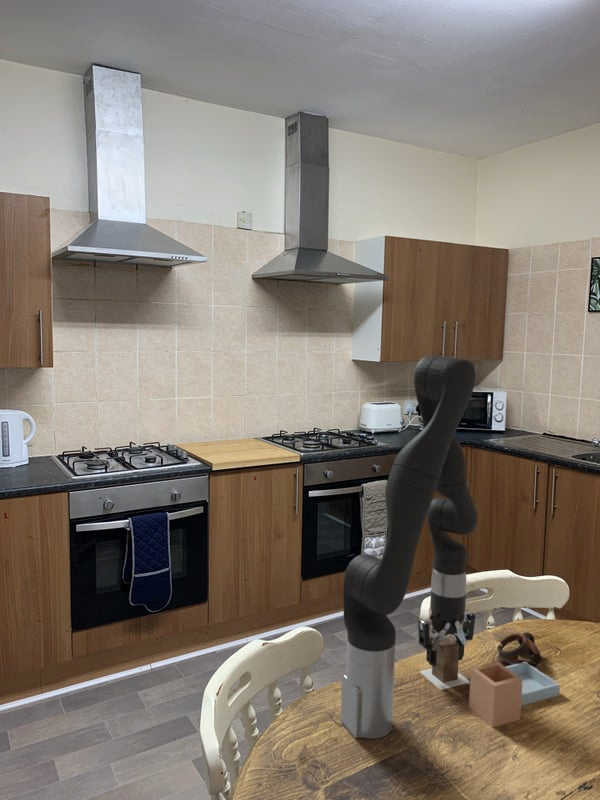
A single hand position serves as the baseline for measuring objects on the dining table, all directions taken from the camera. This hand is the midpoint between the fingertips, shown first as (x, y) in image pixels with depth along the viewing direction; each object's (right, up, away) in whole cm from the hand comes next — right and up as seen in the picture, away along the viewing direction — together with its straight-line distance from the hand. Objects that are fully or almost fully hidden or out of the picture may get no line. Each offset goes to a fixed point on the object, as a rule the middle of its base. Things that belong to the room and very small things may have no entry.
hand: (445, 661), depth 136 cm
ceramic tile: (0, -4, 0) cm, 4 cm away
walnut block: (0, -4, 0) cm, 4 cm away
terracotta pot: (+7, -6, -13) cm, 16 cm away
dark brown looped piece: (+20, -4, +8) cm, 22 cm away
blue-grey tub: (+15, -5, -4) cm, 16 cm away
